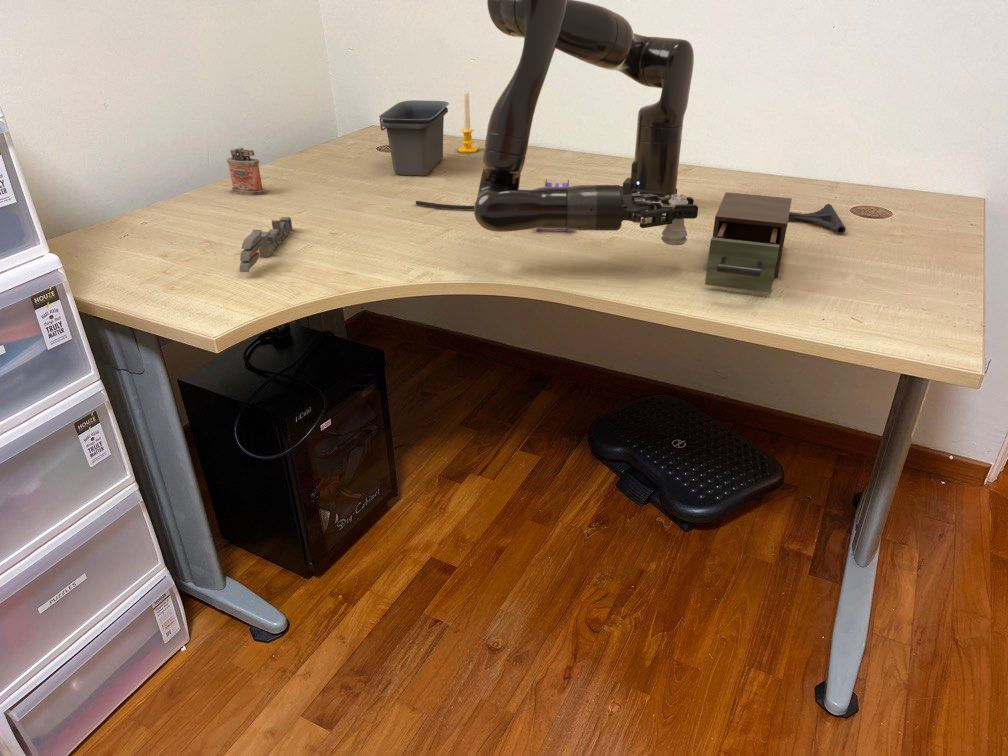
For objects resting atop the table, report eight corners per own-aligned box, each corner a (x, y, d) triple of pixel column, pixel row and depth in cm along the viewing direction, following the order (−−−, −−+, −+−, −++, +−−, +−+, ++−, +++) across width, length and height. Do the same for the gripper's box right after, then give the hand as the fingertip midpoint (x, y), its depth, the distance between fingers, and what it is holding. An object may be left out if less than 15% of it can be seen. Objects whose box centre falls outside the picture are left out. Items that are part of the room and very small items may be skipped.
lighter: (229, 192, 176) (221, 148, 171) (239, 188, 179) (231, 145, 174) (258, 195, 174) (250, 151, 168) (267, 191, 176) (259, 148, 171)
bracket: (757, 208, 162) (759, 195, 161) (831, 211, 160) (833, 198, 158) (764, 231, 150) (767, 217, 149) (844, 235, 148) (847, 221, 146)
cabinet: (777, 278, 130) (787, 223, 125) (708, 269, 133) (715, 216, 128) (782, 249, 141) (791, 198, 137) (718, 241, 145) (725, 192, 140)
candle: (456, 152, 206) (454, 92, 198) (460, 148, 210) (458, 88, 203) (475, 153, 205) (473, 92, 197) (479, 148, 210) (477, 88, 202)
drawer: (768, 305, 118) (776, 258, 114) (700, 296, 121) (706, 250, 117) (776, 263, 133) (784, 220, 129) (715, 256, 136) (721, 214, 132)
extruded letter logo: (249, 278, 132) (243, 247, 129) (240, 278, 132) (234, 247, 129) (292, 229, 153) (288, 202, 150) (285, 229, 153) (280, 202, 150)
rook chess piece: (657, 237, 133) (662, 192, 129) (682, 236, 134) (688, 191, 129) (664, 246, 129) (669, 200, 125) (690, 245, 130) (696, 199, 126)
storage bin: (434, 179, 183) (430, 118, 176) (372, 177, 186) (366, 116, 179) (454, 157, 201) (452, 101, 194) (398, 155, 204) (393, 99, 197)
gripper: (597, 199, 121) (707, 198, 120) (590, 174, 133) (689, 173, 133) (595, 244, 124) (701, 243, 124) (588, 215, 137) (684, 215, 136)
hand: (694, 207), depth 128 cm, fingers closed on rook chess piece, 3 cm apart
